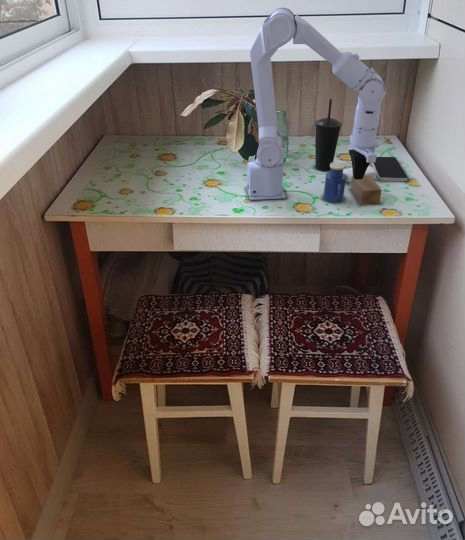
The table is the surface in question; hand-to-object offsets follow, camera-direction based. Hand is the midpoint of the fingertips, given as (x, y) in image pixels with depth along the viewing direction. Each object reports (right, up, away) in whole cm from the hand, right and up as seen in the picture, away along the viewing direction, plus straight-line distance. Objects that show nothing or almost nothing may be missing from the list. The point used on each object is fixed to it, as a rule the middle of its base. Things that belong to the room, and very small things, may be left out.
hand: (357, 178), depth 130 cm
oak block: (+2, -4, +3) cm, 6 cm away
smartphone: (+13, +5, +17) cm, 22 cm away
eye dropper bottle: (+7, +4, +12) cm, 15 cm away
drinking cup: (-5, +6, +19) cm, 21 cm away
